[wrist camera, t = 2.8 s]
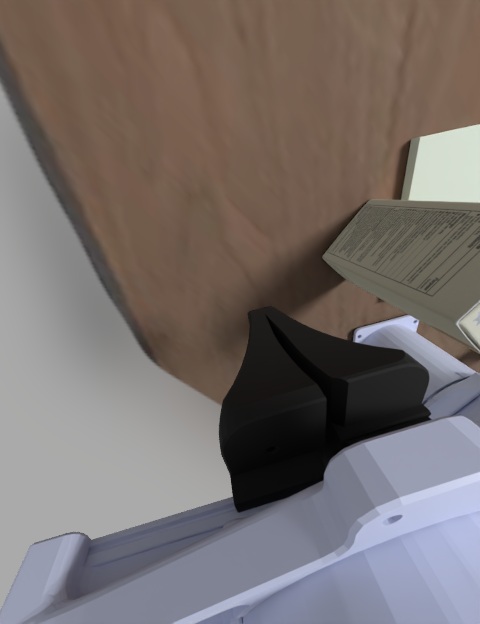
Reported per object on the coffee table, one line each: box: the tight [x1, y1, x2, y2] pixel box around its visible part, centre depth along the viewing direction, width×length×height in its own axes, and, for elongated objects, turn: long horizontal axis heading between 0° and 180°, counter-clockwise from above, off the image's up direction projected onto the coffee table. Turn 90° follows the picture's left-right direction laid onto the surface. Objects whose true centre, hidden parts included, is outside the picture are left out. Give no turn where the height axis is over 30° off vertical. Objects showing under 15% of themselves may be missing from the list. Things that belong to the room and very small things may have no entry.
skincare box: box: [322, 199, 480, 354], centre depth 15 cm, size 6×4×12 cm
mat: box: [401, 124, 480, 203], centre depth 21 cm, size 14×13×1 cm
